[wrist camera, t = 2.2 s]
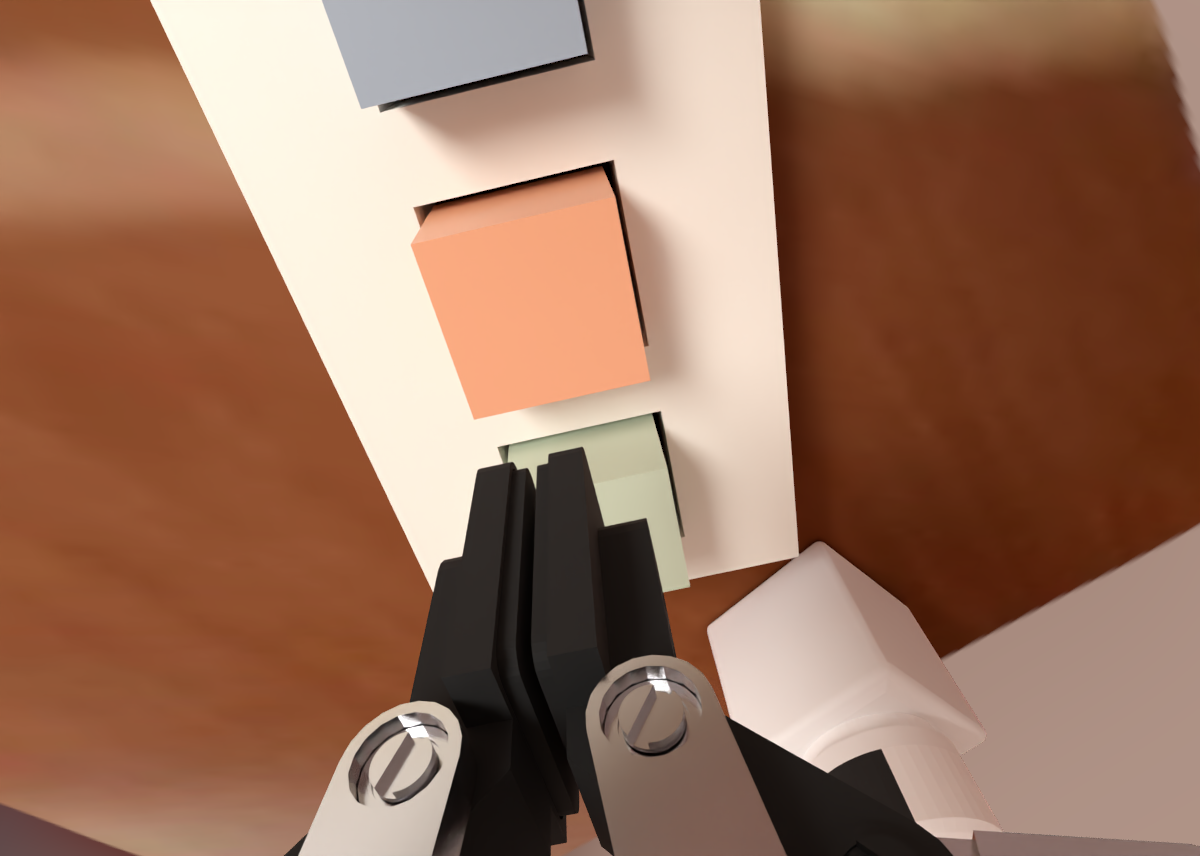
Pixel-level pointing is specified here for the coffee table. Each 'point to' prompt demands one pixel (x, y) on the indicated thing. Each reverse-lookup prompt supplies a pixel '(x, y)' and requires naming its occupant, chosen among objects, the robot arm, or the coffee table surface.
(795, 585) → the medicine bottle
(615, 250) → the key terracotta
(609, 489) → the key sage
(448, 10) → the key slate
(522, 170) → the key board
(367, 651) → the coffee table surface
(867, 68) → the coffee table surface
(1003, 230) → the coffee table surface
